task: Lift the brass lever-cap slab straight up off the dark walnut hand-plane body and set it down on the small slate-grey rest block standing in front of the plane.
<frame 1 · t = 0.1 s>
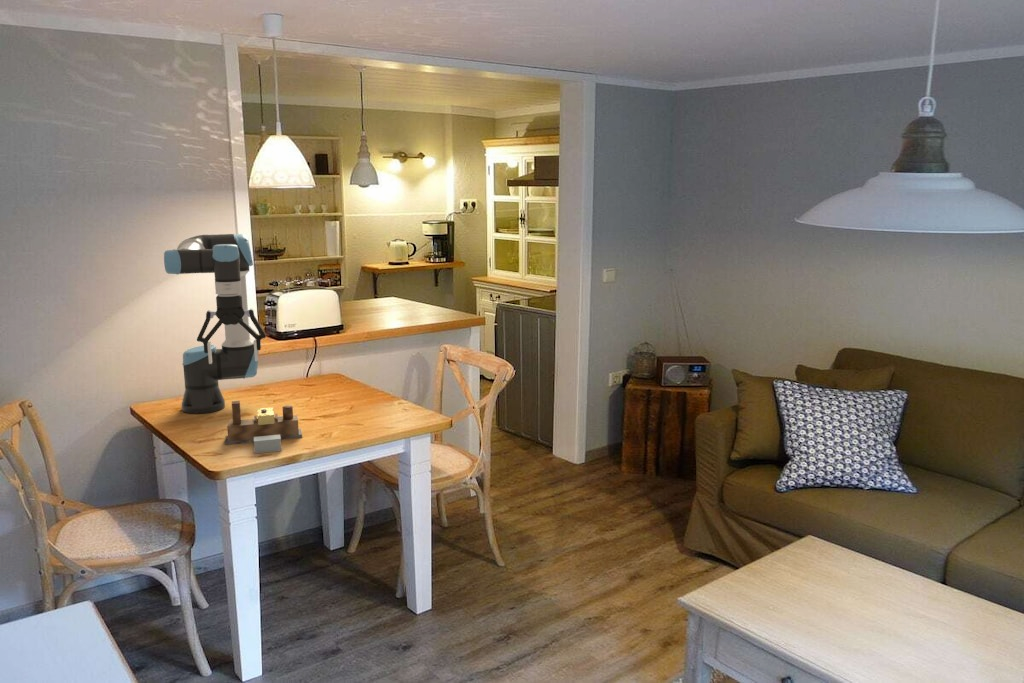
hand: (233, 361, 240), 28 cm above the table, fingers open, 13 cm apart
rest block: (268, 449, 241), on the table
plane body: (264, 438, 252), on the table
lever cap: (266, 420, 251), point 6 cm above the table, touching plane body
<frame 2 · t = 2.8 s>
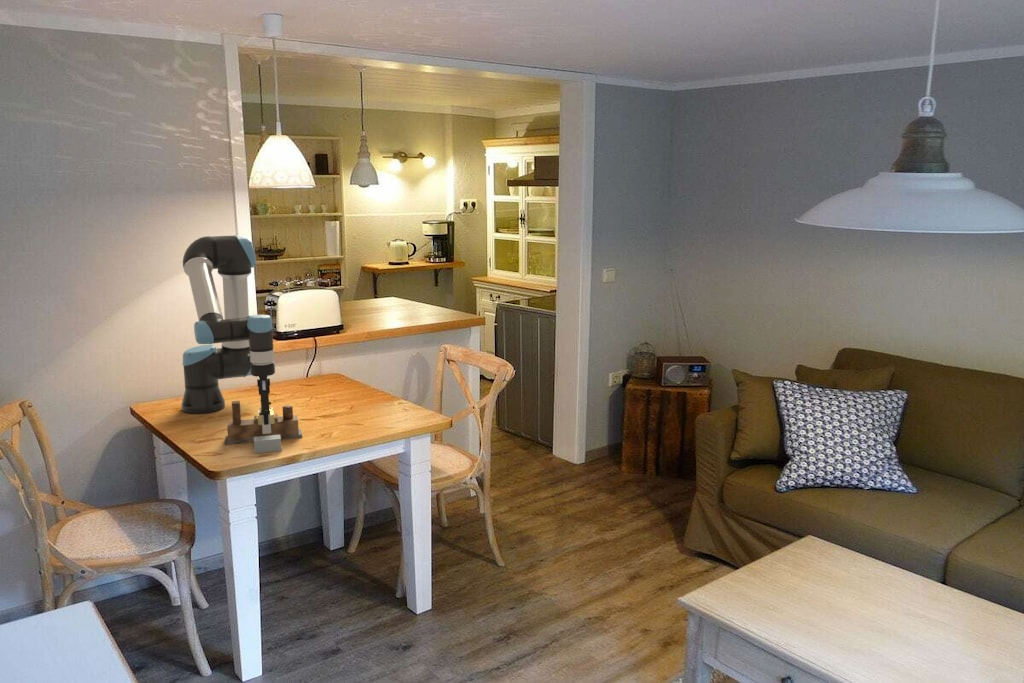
hand: (266, 428, 252), 3 cm above the table, fingers closed on lever cap, 9 cm apart
lever cap: (266, 420, 252), point 6 cm above the table, touching gripper, plane body
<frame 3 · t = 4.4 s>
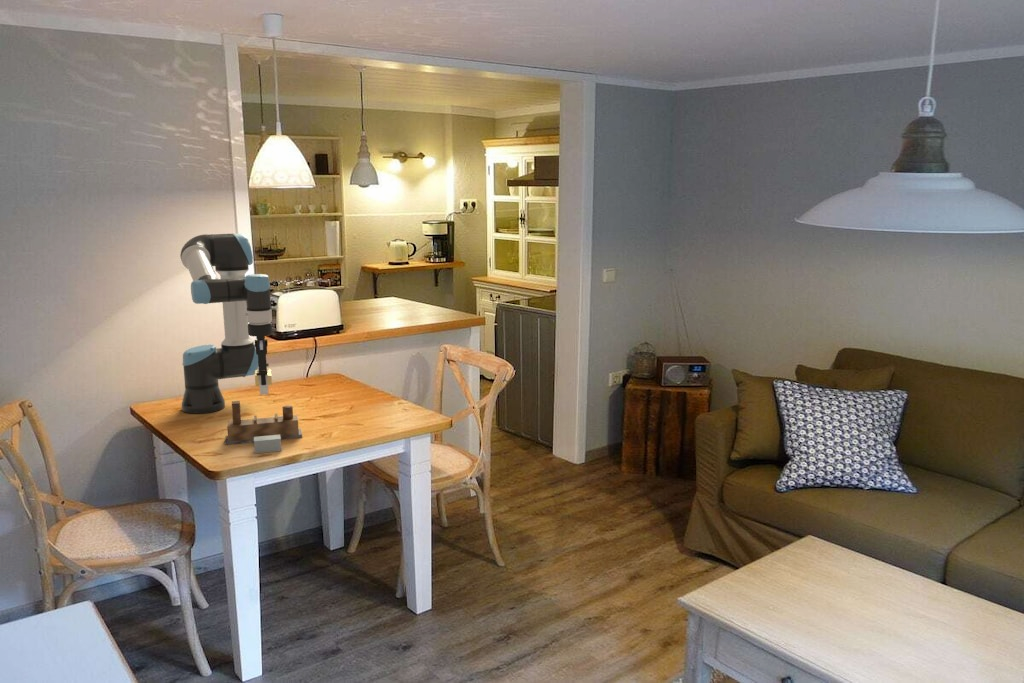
hand: (264, 390, 250), 16 cm above the table, fingers closed on lever cap, 9 cm apart
lever cap: (263, 381, 249), point 19 cm above the table, touching gripper
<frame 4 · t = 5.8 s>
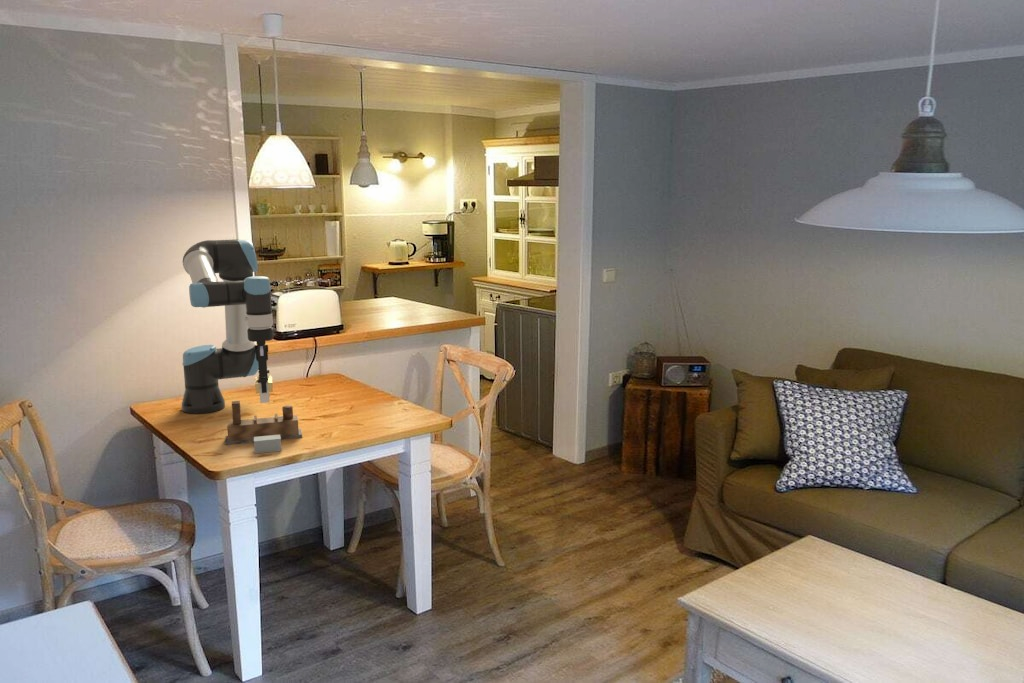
hand: (264, 398, 238), 17 cm above the table, fingers closed on lever cap, 9 cm apart
lever cap: (264, 389, 237), point 20 cm above the table, touching gripper
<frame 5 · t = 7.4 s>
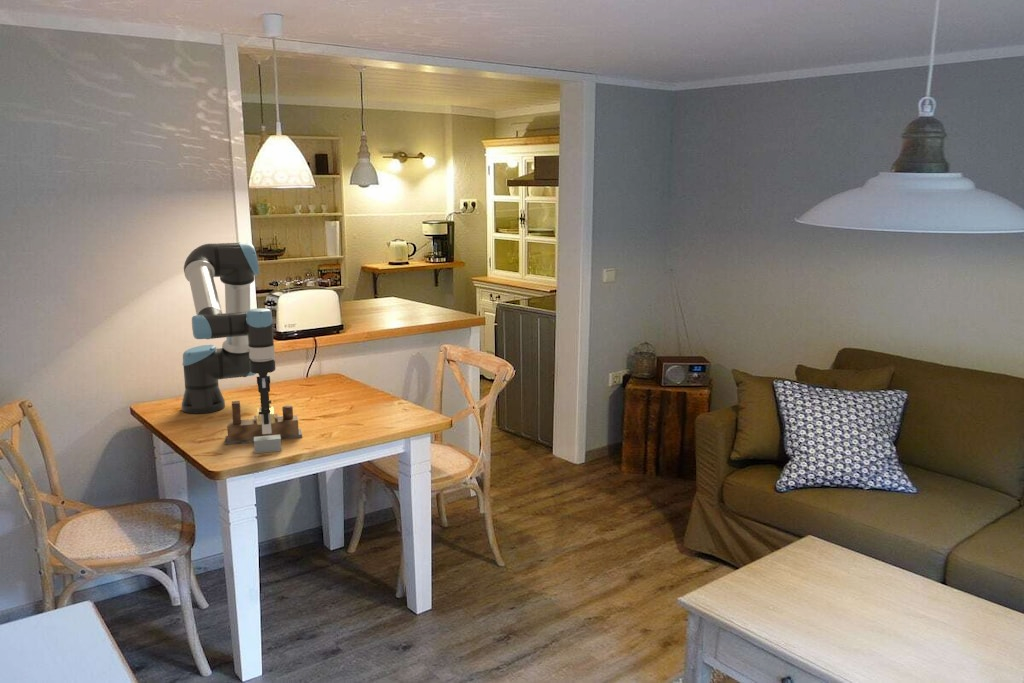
hand: (266, 428, 240), 7 cm above the table, fingers closed on lever cap, 9 cm apart
lever cap: (266, 419, 239), point 10 cm above the table, touching gripper
when the fingers open (2 cm above the table, at t = 8.9 s): lever cap drops 1 cm, resting on rest block.
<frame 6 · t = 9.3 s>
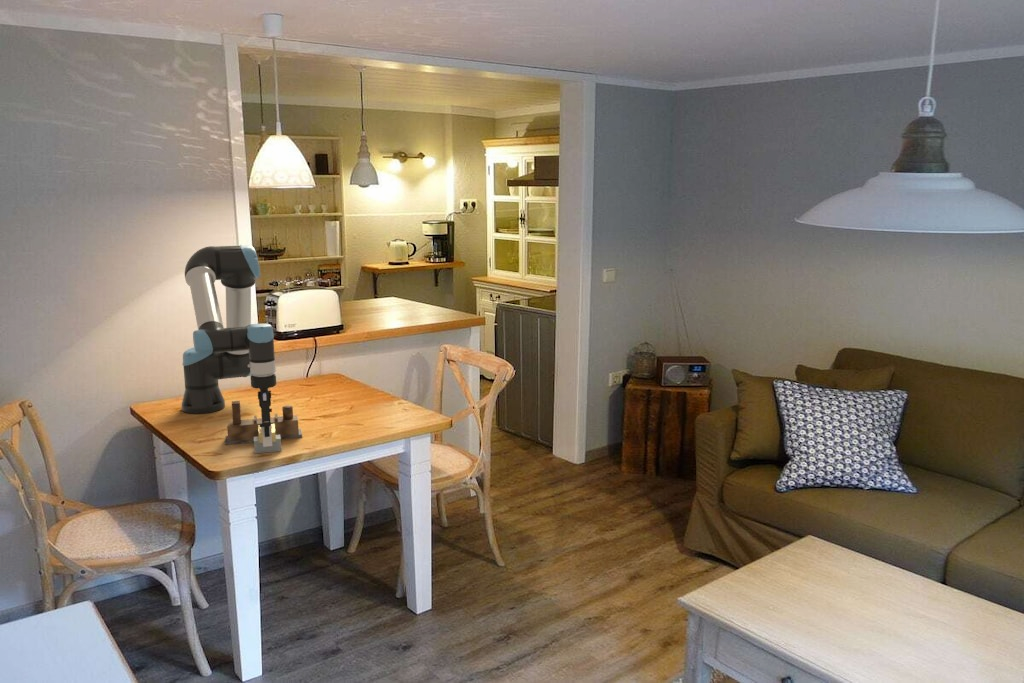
hand: (267, 439, 240), 4 cm above the table, fingers open, 13 cm apart
lever cap: (267, 437, 240), point 4 cm above the table, touching rest block
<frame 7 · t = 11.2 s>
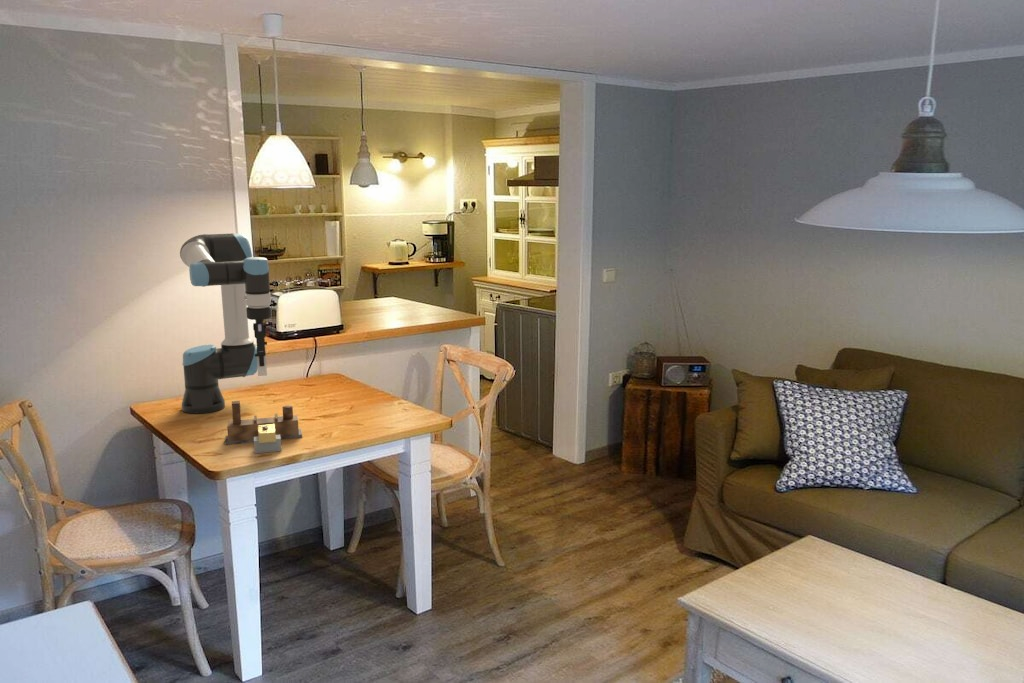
hand: (262, 370, 249), 23 cm above the table, fingers open, 13 cm apart
nothing on the table moved.
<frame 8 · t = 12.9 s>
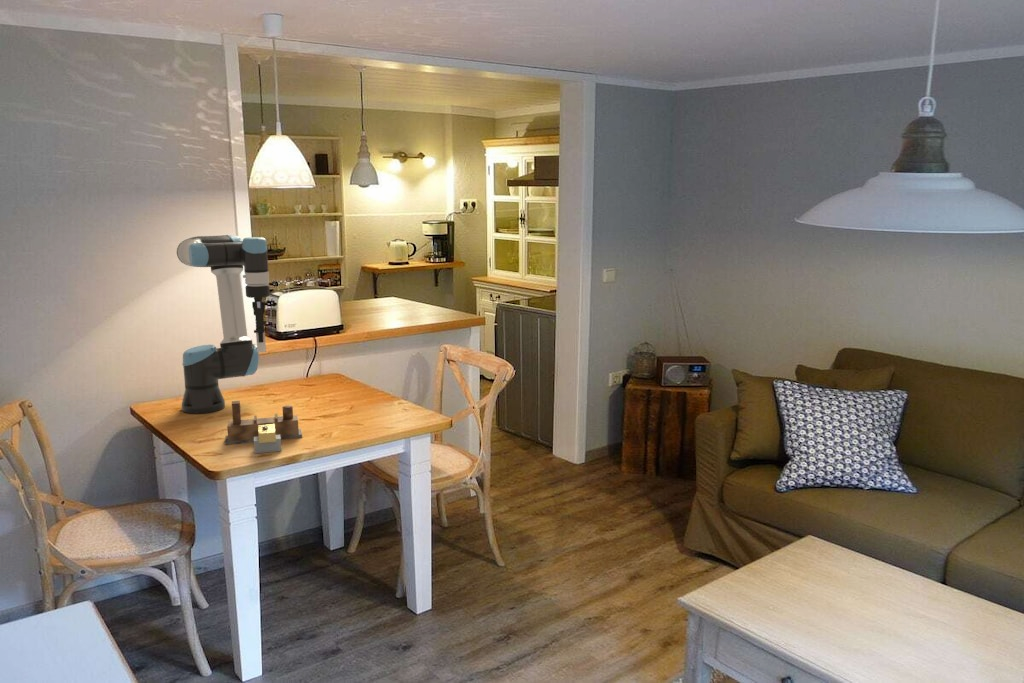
hand: (261, 347, 255), 29 cm above the table, fingers open, 13 cm apart
nothing on the table moved.
at the end: lever cap 0.0 cm off-centre on the rest block, point 4.0 cm above the rest block's base; lever cap touching rest block; lever cap tilted 0° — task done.
